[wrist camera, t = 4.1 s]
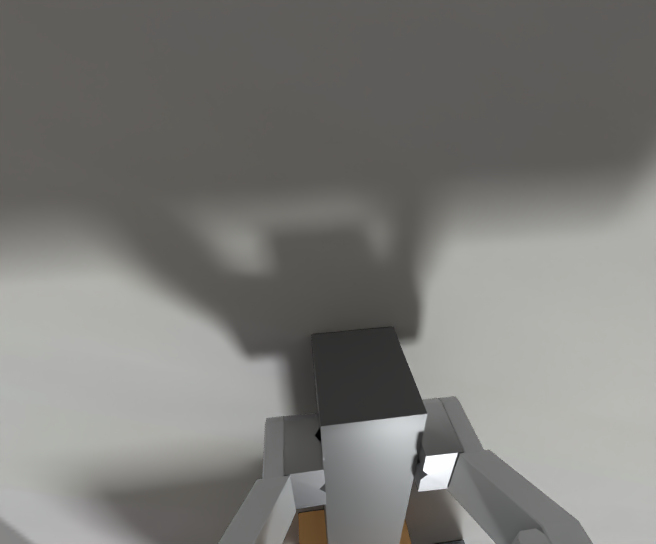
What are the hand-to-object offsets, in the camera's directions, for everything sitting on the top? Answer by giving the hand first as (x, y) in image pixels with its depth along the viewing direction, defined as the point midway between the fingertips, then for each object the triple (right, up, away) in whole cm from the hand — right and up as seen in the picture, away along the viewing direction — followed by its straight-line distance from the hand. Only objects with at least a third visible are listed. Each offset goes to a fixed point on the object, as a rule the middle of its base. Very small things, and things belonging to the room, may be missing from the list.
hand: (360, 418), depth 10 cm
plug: (0, -4, +5) cm, 6 cm away
